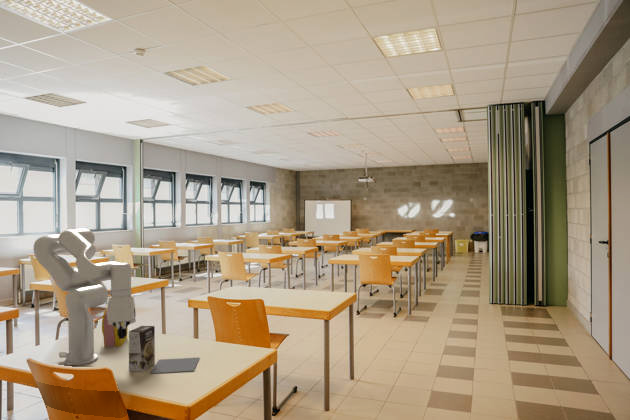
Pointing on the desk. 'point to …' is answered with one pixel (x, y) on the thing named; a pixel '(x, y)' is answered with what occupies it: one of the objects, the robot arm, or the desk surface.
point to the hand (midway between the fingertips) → (122, 337)
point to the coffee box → (141, 348)
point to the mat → (175, 365)
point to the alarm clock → (111, 333)
